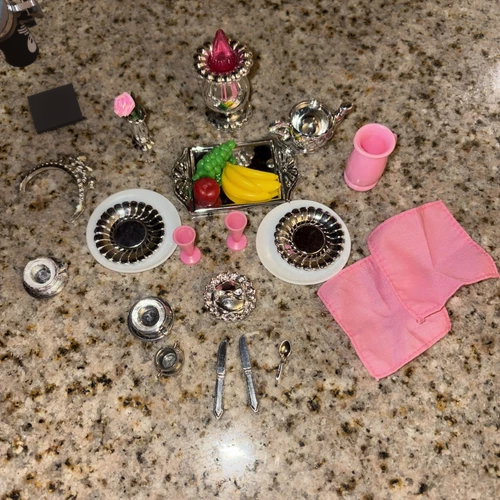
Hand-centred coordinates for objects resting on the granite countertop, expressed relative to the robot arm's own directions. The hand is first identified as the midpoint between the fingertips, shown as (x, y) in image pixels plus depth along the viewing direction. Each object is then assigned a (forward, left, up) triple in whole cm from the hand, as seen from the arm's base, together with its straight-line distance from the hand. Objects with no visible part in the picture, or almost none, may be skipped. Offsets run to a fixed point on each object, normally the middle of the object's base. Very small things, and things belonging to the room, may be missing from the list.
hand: (8, 26), depth 90 cm
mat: (+4, 0, -20) cm, 20 cm away
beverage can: (+4, 0, -4) cm, 5 cm away
